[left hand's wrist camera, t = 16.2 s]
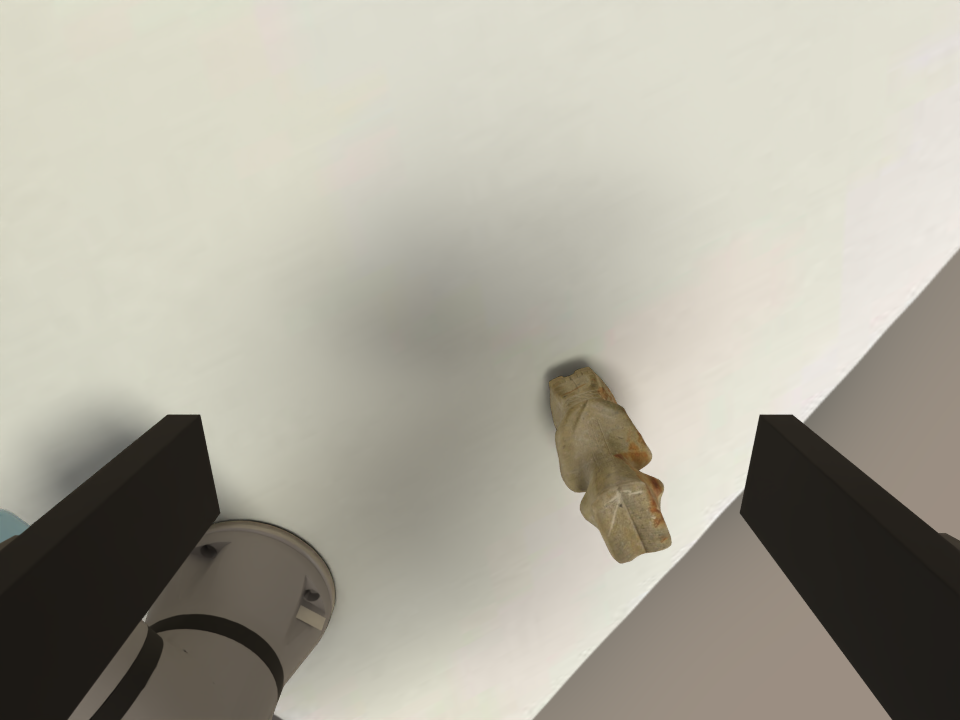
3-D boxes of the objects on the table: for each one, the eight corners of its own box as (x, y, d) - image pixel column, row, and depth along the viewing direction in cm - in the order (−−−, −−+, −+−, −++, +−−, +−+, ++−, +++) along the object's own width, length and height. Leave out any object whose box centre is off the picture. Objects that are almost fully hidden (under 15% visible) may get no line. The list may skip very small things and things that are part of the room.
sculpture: (557, 449, 44) (594, 584, 30) (531, 373, 42) (557, 480, 28) (626, 428, 43) (696, 556, 29) (603, 349, 41) (667, 447, 27)
